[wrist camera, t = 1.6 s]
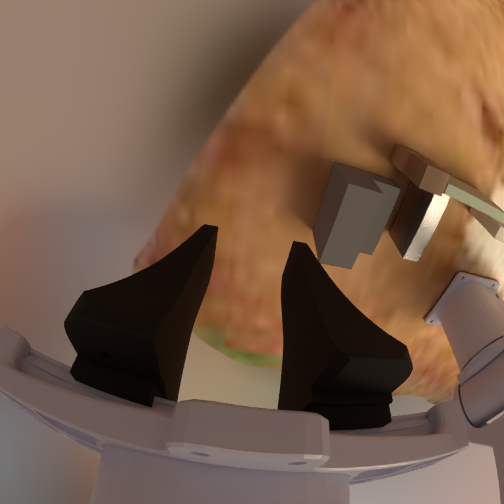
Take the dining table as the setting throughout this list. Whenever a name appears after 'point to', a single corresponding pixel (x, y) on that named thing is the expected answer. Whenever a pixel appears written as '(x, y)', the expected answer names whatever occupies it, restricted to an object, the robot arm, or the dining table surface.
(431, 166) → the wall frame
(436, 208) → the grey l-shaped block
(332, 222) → the block
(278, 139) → the dining table surface
